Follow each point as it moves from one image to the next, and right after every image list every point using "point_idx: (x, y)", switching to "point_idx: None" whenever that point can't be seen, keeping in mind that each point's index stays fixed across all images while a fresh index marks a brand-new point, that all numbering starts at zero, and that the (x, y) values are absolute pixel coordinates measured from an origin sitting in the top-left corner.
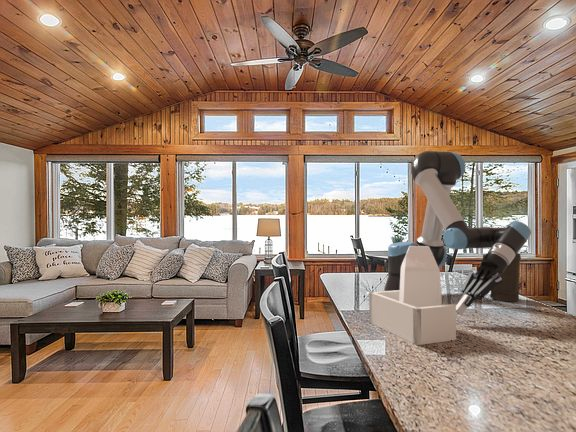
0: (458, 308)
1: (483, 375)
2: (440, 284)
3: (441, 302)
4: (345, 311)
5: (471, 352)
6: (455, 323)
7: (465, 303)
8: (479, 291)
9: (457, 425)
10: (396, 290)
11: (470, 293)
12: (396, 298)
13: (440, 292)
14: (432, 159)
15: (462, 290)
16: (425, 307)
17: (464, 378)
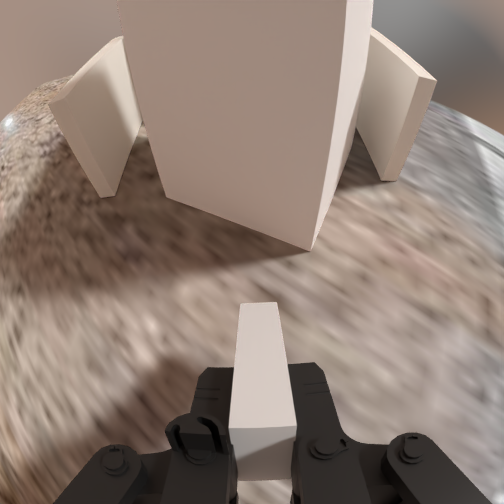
0: (239, 313)
1: (9, 155)
2: (118, 5)
3: (135, 89)
4: (451, 113)
5: (40, 184)
6: (77, 156)
7: (221, 371)
8: (80, 494)
9: (15, 107)
10: (411, 59)
11: (171, 423)
12: (387, 79)
13: (127, 42)
14: None
15: (400, 447)
16: (107, 47)
17: (24, 133)
